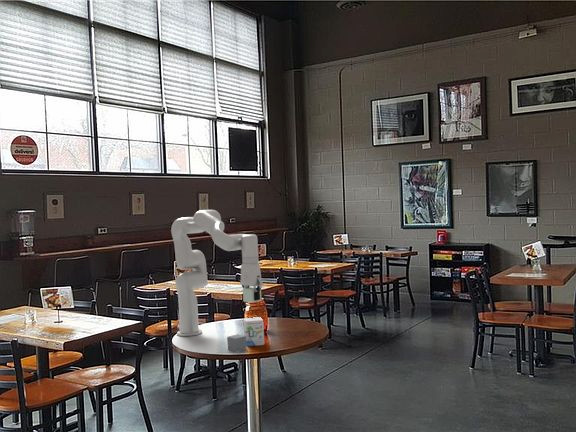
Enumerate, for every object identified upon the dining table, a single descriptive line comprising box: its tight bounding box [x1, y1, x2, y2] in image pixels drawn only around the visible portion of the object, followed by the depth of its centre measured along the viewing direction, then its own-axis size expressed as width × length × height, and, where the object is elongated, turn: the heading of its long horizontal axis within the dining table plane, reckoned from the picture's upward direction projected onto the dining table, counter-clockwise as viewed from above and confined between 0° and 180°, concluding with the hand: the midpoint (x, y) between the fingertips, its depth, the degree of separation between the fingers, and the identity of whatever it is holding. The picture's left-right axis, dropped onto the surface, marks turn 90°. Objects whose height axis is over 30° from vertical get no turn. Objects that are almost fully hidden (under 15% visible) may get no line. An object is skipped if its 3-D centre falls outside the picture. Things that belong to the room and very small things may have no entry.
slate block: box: [226, 333, 248, 353], centre depth 258 cm, size 6×6×6 cm
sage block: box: [242, 286, 263, 303], centre depth 268 cm, size 6×6×6 cm
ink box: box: [243, 317, 265, 347], centre depth 268 cm, size 8×8×12 cm
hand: (252, 299), depth 268 cm, fingers closed on sage block, 6 cm apart
